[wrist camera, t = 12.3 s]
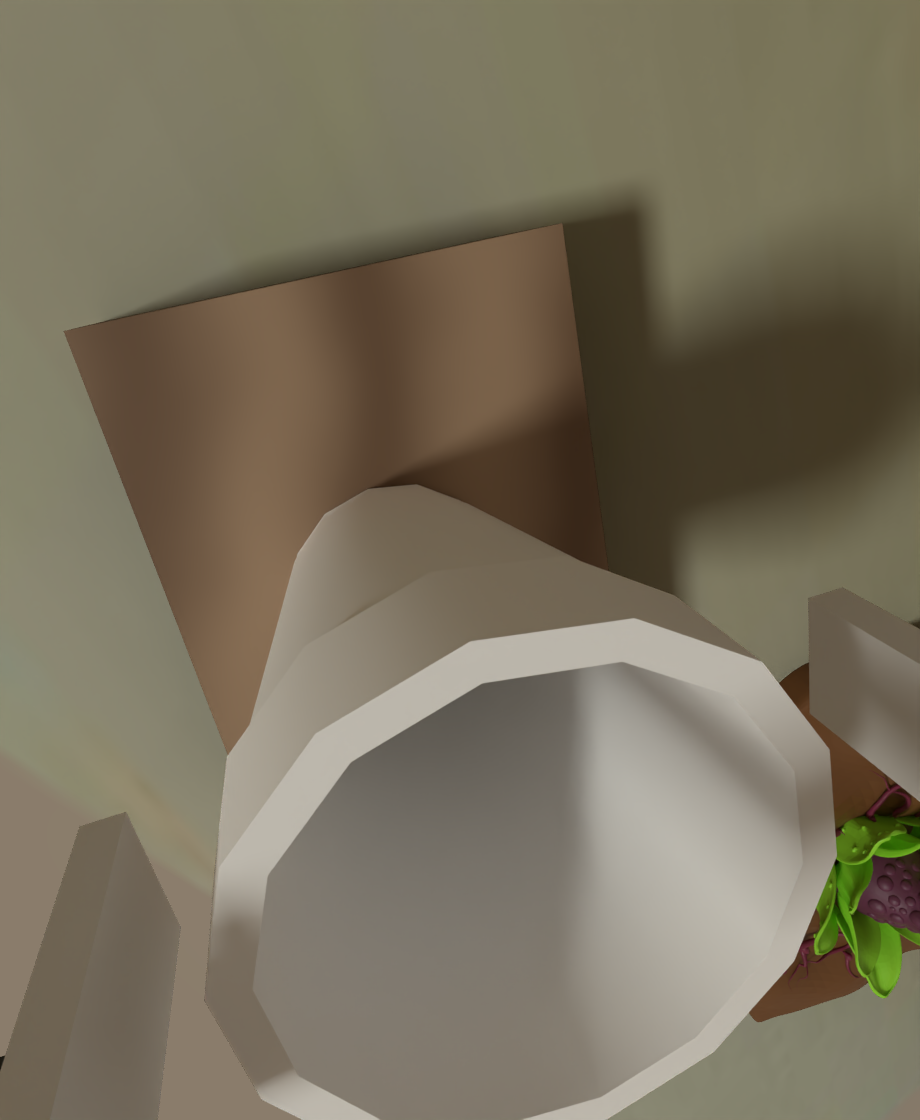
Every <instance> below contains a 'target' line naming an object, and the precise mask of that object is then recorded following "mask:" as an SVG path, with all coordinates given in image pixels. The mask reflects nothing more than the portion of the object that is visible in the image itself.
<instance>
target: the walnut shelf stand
mask: <svg viewBox="0 0 920 1120" xmlns="http://www.w3.org/2000/svg"><path fill="white" fill-rule="evenodd" d="M64 333H65V336H66V338H67V341H68V343H69V346H70V349H71V351H72V354H73V356H74V359H75V361H76V364H77V367H78V369H79V372H80V374H81V377H82V380H83V382H84V385H85V387H86V390H87V392H88V395H89V398H90V400H91V403H92V405H93V408H94V411H95V413H96V416H97V418H98V421H99V423H100V426H101V429H102V431H103V434H104V436H105V439H106V441H107V444H108V447H109V449H110V452H111V454H112V457H113V460H114V462H115V465H116V467H117V470H118V472H119V475H120V478H121V480H122V483H123V485H124V488H125V490H126V493H127V496H128V498H129V501H130V503H131V506H132V509H133V511H134V514H135V516H136V519H137V521H138V524H139V527H140V529H141V532H142V534H143V537H144V540H145V542H146V545H147V547H148V550H149V552H150V555H151V558H152V560H153V563H154V565H155V568H156V570H157V573H158V576H159V578H160V581H161V583H162V586H163V589H164V591H165V594H166V596H167V599H168V601H169V604H170V607H171V609H172V612H173V614H174V617H175V619H176V622H177V625H178V627H179V630H180V632H181V635H182V638H183V640H184V643H185V645H186V648H187V650H188V653H189V656H190V658H191V661H192V663H193V666H194V669H195V671H196V674H197V676H198V679H199V681H200V684H201V687H202V689H203V692H204V694H205V697H206V699H207V702H208V705H209V707H210V710H211V712H212V715H213V718H214V720H215V723H216V725H217V728H218V730H219V733H220V736H221V738H222V741H223V743H224V746H225V748H226V751H227V754H228V755H229V753H230V752H231V750H232V749H233V747H234V746H235V745H236V743H237V742H238V740H239V739H240V738H241V736H242V735H243V733H244V732H245V730H246V729H247V728H248V726H249V725H250V721H251V718H252V714H253V711H254V707H255V703H256V700H257V696H258V692H259V689H260V685H261V681H262V678H263V674H264V671H265V667H266V663H267V660H268V656H269V652H270V649H271V645H272V641H273V638H274V634H275V631H276V627H277V623H278V620H279V616H280V612H281V609H282V605H283V601H284V598H285V594H286V591H287V587H288V583H289V580H290V576H291V572H292V569H293V565H294V561H295V560H296V558H297V554H298V552H299V551H300V549H301V548H302V546H303V545H304V543H305V542H306V540H307V539H308V538H309V536H310V535H311V533H312V532H313V530H314V529H315V527H316V526H317V524H318V523H319V521H320V520H321V519H322V517H323V516H324V514H326V513H327V512H329V511H331V510H332V509H334V508H336V507H338V506H339V505H341V504H343V503H344V502H346V501H348V500H350V499H351V498H353V497H355V496H356V495H358V494H360V493H362V492H363V491H365V490H367V489H372V488H383V487H393V486H404V485H415V484H417V485H420V486H423V487H425V488H428V489H431V490H433V491H436V492H439V493H442V494H444V495H447V496H450V497H452V498H455V499H458V500H460V501H462V502H465V503H467V504H469V505H471V506H473V507H475V508H477V509H479V510H481V511H483V512H485V513H487V514H489V515H491V516H493V517H495V518H497V519H499V520H501V521H503V522H505V523H507V524H509V525H511V526H513V527H515V528H517V529H519V530H521V531H522V532H524V533H526V534H528V535H530V536H532V537H534V538H536V539H538V540H540V541H542V542H544V543H546V544H548V545H550V546H552V547H554V548H556V549H558V550H560V551H562V552H564V553H566V554H568V555H570V556H572V557H574V558H576V559H578V560H579V561H581V562H584V563H587V564H590V565H592V566H595V567H598V568H601V569H603V570H606V571H609V569H608V561H607V554H606V546H605V539H604V531H603V524H602V516H601V509H600V501H599V494H598V486H597V479H596V471H595V464H594V457H593V449H592V442H591V434H590V427H589V419H588V412H587V404H586V397H585V389H584V382H583V374H582V367H581V359H580V352H579V344H578V337H577V329H576V322H575V314H574V307H573V299H572V292H571V284H570V277H569V269H568V262H567V254H566V247H565V239H564V232H563V225H562V223H561V224H556V225H551V226H546V227H541V228H536V229H531V230H526V231H521V232H516V233H511V234H506V235H502V236H497V237H492V238H488V239H483V240H479V241H474V242H469V243H465V244H460V245H455V246H451V247H446V248H442V249H437V250H432V251H428V252H423V253H419V254H414V255H409V256H405V257H400V258H395V259H391V260H386V261H382V262H377V263H372V264H368V265H363V266H359V267H354V268H349V269H345V270H340V271H335V272H331V273H326V274H322V275H317V276H312V277H308V278H303V279H299V280H294V281H289V282H285V283H280V284H275V285H271V286H266V287H262V288H257V289H252V290H248V291H243V292H238V293H234V294H229V295H225V296H220V297H215V298H211V299H206V300H202V301H197V302H192V303H188V304H183V305H178V306H174V307H169V308H165V309H160V310H155V311H151V312H146V313H142V314H137V315H132V316H128V317H123V318H118V319H114V320H109V321H105V322H100V323H96V324H92V325H88V326H83V327H79V328H75V329H71V330H67V331H64Z"/></svg>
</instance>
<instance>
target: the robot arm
mask: <svg viewBox="0 0 920 1120" xmlns="http://www.w3.org/2000/svg"><path fill="white" fill-rule="evenodd" d="M808 617H809V696H810V714H811V715H812V716H813V717H815V718H816V719H817V720H818V721H820V722H821V723H822V724H823V725H825V726H826V727H827V728H828V729H830V730H831V731H832V732H833V733H835V734H836V735H837V736H838V737H840V738H841V739H842V740H843V741H845V742H846V743H847V744H848V745H850V746H851V747H852V748H853V749H855V750H856V751H857V752H858V753H860V754H861V755H862V756H863V757H865V758H866V759H867V760H868V761H870V762H871V763H872V764H873V765H875V766H876V767H877V768H878V769H880V770H881V771H882V772H883V773H885V774H886V775H887V776H888V777H890V778H891V779H892V780H893V781H895V782H896V783H897V784H898V785H900V786H901V787H902V788H903V789H905V790H906V791H907V792H908V793H910V794H911V795H912V796H913V797H915V798H916V799H917V800H918V801H920V629H919V628H917V627H915V626H913V625H911V624H909V623H908V622H906V621H904V620H902V619H900V618H898V617H896V616H895V615H893V614H891V613H889V612H887V611H885V610H883V609H882V608H880V607H878V606H876V605H874V604H872V603H870V602H869V601H867V600H865V599H863V598H861V597H859V596H857V595H856V594H854V593H852V592H850V591H848V590H846V589H844V588H843V587H842V588H839V589H836V590H833V591H830V592H826V593H823V594H820V595H817V596H814V597H810V598H808ZM180 929H181V927H180V924H179V922H178V920H177V918H176V916H175V914H174V912H173V910H172V908H171V905H170V904H169V901H168V899H167V897H166V895H165V893H164V891H163V889H162V887H161V884H160V882H159V881H158V878H157V876H156V874H155V872H154V870H153V868H152V866H151V863H150V861H149V859H148V857H147V855H146V853H145V851H144V849H143V847H142V844H141V842H140V840H139V838H138V836H137V834H136V832H135V830H134V828H133V826H132V823H131V821H130V819H129V817H128V815H127V813H126V812H124V813H121V814H118V815H115V816H111V817H108V818H105V819H102V820H99V821H95V822H92V823H89V824H86V825H83V826H80V827H79V830H78V833H77V836H76V839H75V842H74V845H73V848H72V852H71V855H70V858H69V861H68V864H67V867H66V870H65V873H64V876H63V879H62V882H61V886H60V889H59V892H58V895H57V898H56V901H55V904H54V907H53V910H52V913H51V916H50V919H49V923H48V925H47V929H46V932H45V935H44V938H43V941H42V944H41V947H40V950H39V953H38V956H37V959H36V962H35V966H34V969H33V972H32V975H31V978H30V981H29V984H28V987H27V990H26V993H25V996H24V999H23V1002H22V1005H21V1009H20V1012H19V1015H18V1018H17V1021H16V1024H15V1027H14V1030H13V1033H12V1036H11V1039H10V1042H9V1046H8V1049H7V1052H6V1055H5V1056H2V1057H0V1120H158V1112H159V1104H160V1095H161V1086H162V1079H163V1070H164V1062H165V1054H166V1046H167V1038H168V1028H169V1021H170V1012H171V1004H172V995H173V988H174V979H175V971H176V962H177V954H178V946H179V938H180Z"/></svg>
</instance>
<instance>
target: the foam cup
mask: <svg viewBox="0 0 920 1120" xmlns="http://www.w3.org/2000/svg"><path fill="white" fill-rule="evenodd" d="M836 857H837V849H836V834H835V820H834V805H833V791H832V777H831V762H830V749H829V748H828V747H827V746H826V744H825V743H824V742H823V740H822V739H821V738H820V736H819V735H818V734H817V733H816V731H815V730H814V729H813V727H812V726H811V725H810V723H809V722H808V721H807V720H806V718H805V717H804V716H803V714H802V713H801V712H800V710H799V709H798V708H797V707H796V705H795V704H794V703H793V701H792V700H791V699H790V697H789V696H788V695H787V694H786V692H785V691H784V690H783V688H782V687H781V686H780V684H779V683H778V682H777V681H776V679H775V678H774V677H773V675H772V674H771V673H770V671H769V670H768V669H767V668H766V666H765V665H764V664H763V662H762V661H760V660H759V659H758V658H756V657H755V656H754V655H752V654H751V653H750V652H749V651H747V650H746V649H745V648H743V647H742V646H741V645H739V644H738V643H737V642H735V641H734V640H733V639H731V638H730V637H729V636H727V635H726V634H725V633H724V632H722V631H721V630H720V629H718V628H717V627H716V626H714V625H713V624H712V623H710V622H709V621H708V620H706V619H705V618H704V617H702V616H701V615H700V614H698V613H697V612H696V611H695V610H693V609H692V608H691V607H689V606H688V605H687V604H685V603H684V602H683V601H681V600H680V599H679V598H677V597H676V596H675V595H672V594H669V593H667V592H664V591H661V590H658V589H656V588H653V587H650V586H647V585H645V584H642V583H639V582H636V581H634V580H631V579H628V578H625V577H623V576H620V575H617V574H614V573H612V572H609V571H606V570H603V569H601V568H598V567H595V566H592V565H590V564H587V563H584V562H581V561H579V560H578V559H576V558H574V557H572V556H570V555H568V554H566V553H564V552H562V551H560V550H558V549H556V548H554V547H552V546H550V545H548V544H546V543H544V542H542V541H540V540H538V539H536V538H534V537H532V536H530V535H528V534H526V533H524V532H522V531H521V530H519V529H517V528H515V527H513V526H511V525H509V524H507V523H505V522H503V521H501V520H499V519H497V518H495V517H493V516H491V515H489V514H487V513H485V512H483V511H481V510H479V509H477V508H475V507H473V506H471V505H469V504H467V503H465V502H462V501H460V500H458V499H455V498H452V497H450V496H447V495H444V494H442V493H439V492H436V491H433V490H431V489H428V488H425V487H423V486H420V485H417V484H415V485H404V486H393V487H383V488H372V489H367V490H365V491H363V492H362V493H360V494H358V495H356V496H355V497H353V498H351V499H350V500H348V501H346V502H344V503H343V504H341V505H339V506H338V507H336V508H334V509H332V510H331V511H329V512H327V513H326V514H324V516H323V517H322V519H321V520H320V521H319V523H318V524H317V526H316V527H315V529H314V530H313V532H312V533H311V535H310V536H309V538H308V539H307V540H306V542H305V543H304V545H303V546H302V548H301V549H300V551H299V552H298V554H297V558H296V560H295V561H294V565H293V569H292V572H291V576H290V580H289V583H288V587H287V591H286V594H285V598H284V601H283V605H282V609H281V612H280V616H279V620H278V623H277V627H276V631H275V634H274V638H273V641H272V645H271V649H270V652H269V656H268V660H267V663H266V667H265V671H264V674H263V678H262V681H261V685H260V689H259V692H258V696H257V700H256V703H255V707H254V711H253V714H252V718H251V721H250V725H249V726H248V728H247V729H246V730H245V732H244V733H243V735H242V736H241V738H240V739H239V740H238V742H237V743H236V745H235V746H234V747H233V749H232V750H231V752H230V753H229V755H228V756H227V761H226V770H225V779H224V789H223V798H222V807H221V816H220V825H219V835H218V844H217V853H216V862H215V871H214V884H213V897H212V909H211V922H210V935H209V948H208V962H207V973H206V974H207V975H206V987H205V999H204V1001H205V1003H206V1004H207V1006H208V1008H209V1009H210V1011H211V1013H212V1015H213V1016H214V1018H215V1019H216V1021H217V1023H218V1025H219V1027H220V1028H221V1030H222V1032H223V1034H224V1035H225V1037H226V1039H227V1041H228V1042H229V1044H230V1046H231V1048H232V1049H233V1051H234V1053H235V1055H236V1056H237V1058H238V1060H239V1061H240V1063H241V1065H242V1067H243V1068H244V1070H245V1072H246V1074H247V1075H248V1077H249V1079H250V1080H251V1082H252V1084H253V1086H254V1087H255V1089H256V1091H257V1093H258V1094H259V1096H260V1098H261V1099H262V1100H264V1101H266V1102H268V1103H270V1104H272V1105H274V1106H276V1107H278V1108H280V1109H282V1110H284V1111H286V1112H288V1113H290V1114H292V1115H294V1116H296V1117H298V1118H300V1119H302V1120H606V1119H608V1118H610V1117H611V1116H613V1115H614V1114H616V1113H618V1112H619V1111H621V1110H622V1109H624V1108H626V1107H627V1106H629V1105H630V1104H632V1103H633V1102H635V1101H637V1100H638V1099H640V1098H641V1097H643V1096H645V1095H646V1094H648V1093H649V1092H651V1091H653V1090H654V1089H656V1088H657V1087H659V1086H660V1085H662V1084H664V1083H665V1082H667V1081H668V1080H670V1079H672V1078H673V1077H675V1076H676V1075H678V1074H680V1073H681V1072H683V1071H684V1070H686V1069H687V1068H689V1067H691V1066H692V1065H694V1064H695V1063H697V1062H699V1061H700V1060H702V1059H703V1058H705V1057H707V1056H708V1055H710V1054H711V1053H713V1052H714V1051H715V1050H716V1049H717V1048H718V1047H719V1045H720V1044H721V1043H722V1042H723V1041H724V1040H725V1039H726V1038H727V1036H728V1035H729V1034H730V1033H731V1032H732V1031H733V1030H734V1029H735V1027H736V1026H737V1025H738V1024H739V1023H740V1022H741V1021H742V1019H743V1018H744V1017H745V1016H746V1015H747V1014H748V1013H749V1012H750V1010H751V1009H752V1008H753V1007H754V1006H755V1005H756V1004H757V1003H758V1001H759V1000H760V999H761V998H762V997H763V996H764V995H765V994H766V992H767V991H768V990H769V989H770V988H771V987H772V986H773V985H774V983H775V982H776V981H777V980H778V979H779V978H780V977H781V976H782V974H783V973H784V972H785V971H786V970H787V969H788V968H789V966H790V965H791V964H792V963H793V962H794V961H795V958H796V956H797V953H798V951H799V948H800V946H801V943H802V941H803V938H804V936H805V933H806V931H807V929H808V926H809V924H810V921H811V919H812V916H813V914H814V911H815V909H816V906H817V904H818V901H819V899H820V897H821V894H822V892H823V889H824V887H825V884H826V882H827V879H828V877H829V874H830V872H831V869H832V867H833V865H834V862H835V860H836Z"/></svg>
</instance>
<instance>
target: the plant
mask: <svg viewBox="0 0 920 1120" xmlns="http://www.w3.org/2000/svg"><path fill="white" fill-rule="evenodd" d="M779 684H780V686H781V687H782V688H783V690H784V691H785V692H786V694H787V695H788V696H789V697H790V699H791V700H792V701H793V703H794V704H795V705H796V707H797V708H798V709H799V710H800V712H801V713H802V714H803V716H804V717H805V718H806V720H807V721H808V722H809V723H810V725H811V726H812V727H813V729H814V730H815V731H816V733H817V734H818V735H819V736H820V738H821V739H822V740H823V742H824V743H825V744H826V746H827V747H828V748H829V749H830V762H831V777H832V791H833V805H834V820H835V834H836V849H837V857H836V860H835V862H834V865H833V867H832V869H831V872H830V874H829V877H828V879H827V882H826V884H825V887H824V889H823V892H822V894H821V897H820V899H819V901H818V904H817V906H816V909H815V911H814V914H813V916H812V919H811V921H810V924H809V926H808V929H807V931H806V933H805V936H804V938H803V941H802V943H801V946H800V948H799V951H798V953H797V956H796V958H795V961H794V962H793V963H792V964H791V965H790V966H789V968H788V969H787V970H786V971H785V972H784V973H783V974H782V976H781V977H780V978H779V979H778V980H777V981H776V982H775V983H774V985H773V986H772V987H771V988H770V989H769V990H768V991H767V992H766V994H765V995H764V996H763V997H762V998H761V999H760V1000H759V1001H758V1003H757V1004H756V1005H755V1006H754V1007H753V1008H752V1009H751V1010H750V1012H749V1014H750V1015H751V1016H752V1018H753V1019H754V1020H755V1021H757V1022H762V1021H765V1020H767V1019H770V1018H773V1017H776V1016H780V1015H784V1014H788V1013H792V1012H795V1011H799V1010H802V1009H805V1008H808V1007H811V1006H814V1005H817V1004H820V1003H823V1002H826V1001H829V1000H832V999H836V998H839V997H843V996H845V995H848V994H850V993H852V992H854V991H856V990H858V989H860V988H861V987H863V986H864V985H866V984H867V983H869V986H870V988H871V989H872V991H873V992H874V993H875V994H876V995H877V996H879V997H881V998H886V997H888V995H889V994H890V993H891V991H892V990H893V988H894V987H895V985H896V983H897V981H898V979H899V975H900V970H901V962H902V954H903V953H905V952H907V951H911V950H915V949H920V801H918V800H917V799H916V798H915V797H913V796H912V795H911V794H910V793H908V792H907V791H906V790H905V789H903V788H902V787H901V786H900V785H898V784H897V783H896V782H895V781H893V780H892V779H891V778H890V777H888V776H887V775H886V774H885V773H883V772H882V771H881V770H880V769H878V768H877V767H876V766H875V765H873V764H872V763H871V762H870V761H868V760H867V759H866V758H865V757H863V756H862V755H861V754H860V753H858V752H857V751H856V750H855V749H853V748H852V747H851V746H850V745H848V744H847V743H846V742H845V741H843V740H842V739H841V738H840V737H838V736H837V735H836V734H835V733H833V732H832V731H831V730H830V729H828V728H827V727H826V726H825V725H823V724H822V723H821V722H820V721H818V720H817V719H816V718H815V717H813V716H812V715H811V714H810V696H809V663H807V664H804V665H802V666H801V667H799V668H798V669H796V670H795V671H793V672H792V673H790V674H789V675H788V676H787V677H785V678H784V679H783V680H782V681H781V682H780V683H779Z"/></svg>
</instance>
